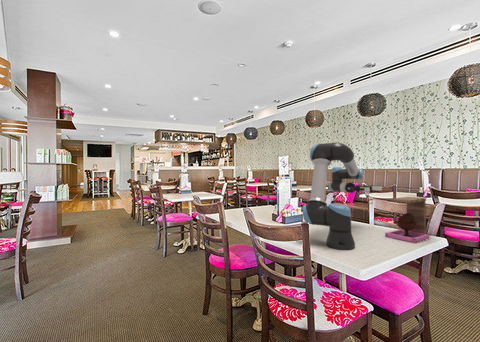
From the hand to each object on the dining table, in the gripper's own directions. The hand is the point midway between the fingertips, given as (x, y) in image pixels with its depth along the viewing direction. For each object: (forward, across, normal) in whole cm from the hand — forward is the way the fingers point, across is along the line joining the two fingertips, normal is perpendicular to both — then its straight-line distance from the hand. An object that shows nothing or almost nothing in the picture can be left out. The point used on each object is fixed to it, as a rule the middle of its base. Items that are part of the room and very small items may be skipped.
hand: (375, 189), depth 162 cm
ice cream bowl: (+16, -6, -30) cm, 34 cm away
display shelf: (+16, -8, -30) cm, 35 cm away
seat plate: (+16, -6, -30) cm, 34 cm away
